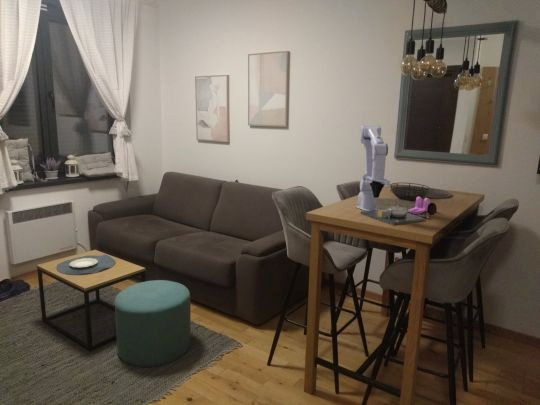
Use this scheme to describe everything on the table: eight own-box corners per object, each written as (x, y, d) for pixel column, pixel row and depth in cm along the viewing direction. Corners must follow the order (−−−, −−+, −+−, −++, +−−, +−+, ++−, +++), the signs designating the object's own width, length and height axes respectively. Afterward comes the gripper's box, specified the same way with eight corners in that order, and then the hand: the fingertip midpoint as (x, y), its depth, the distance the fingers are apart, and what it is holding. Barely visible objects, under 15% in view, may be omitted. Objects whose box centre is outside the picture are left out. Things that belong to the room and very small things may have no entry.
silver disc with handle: (396, 212, 202) (397, 204, 201) (410, 216, 194) (411, 208, 193) (373, 214, 195) (373, 207, 194) (386, 219, 188) (386, 211, 187)
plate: (360, 213, 203) (360, 211, 203) (391, 210, 212) (391, 207, 211) (392, 225, 183) (393, 222, 183) (425, 220, 192) (425, 218, 192)
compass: (414, 216, 202) (416, 201, 200) (428, 215, 203) (430, 201, 202) (424, 220, 194) (425, 205, 192) (438, 219, 196) (440, 204, 194)
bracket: (418, 208, 217) (419, 196, 216) (428, 210, 213) (429, 197, 212) (406, 212, 208) (407, 199, 207) (416, 214, 204) (418, 201, 203)
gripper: (361, 167, 198) (359, 195, 201) (382, 171, 185) (380, 201, 188) (373, 167, 201) (371, 194, 204) (394, 171, 188) (391, 200, 191)
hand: (376, 197), depth 196 cm, fingers closed
